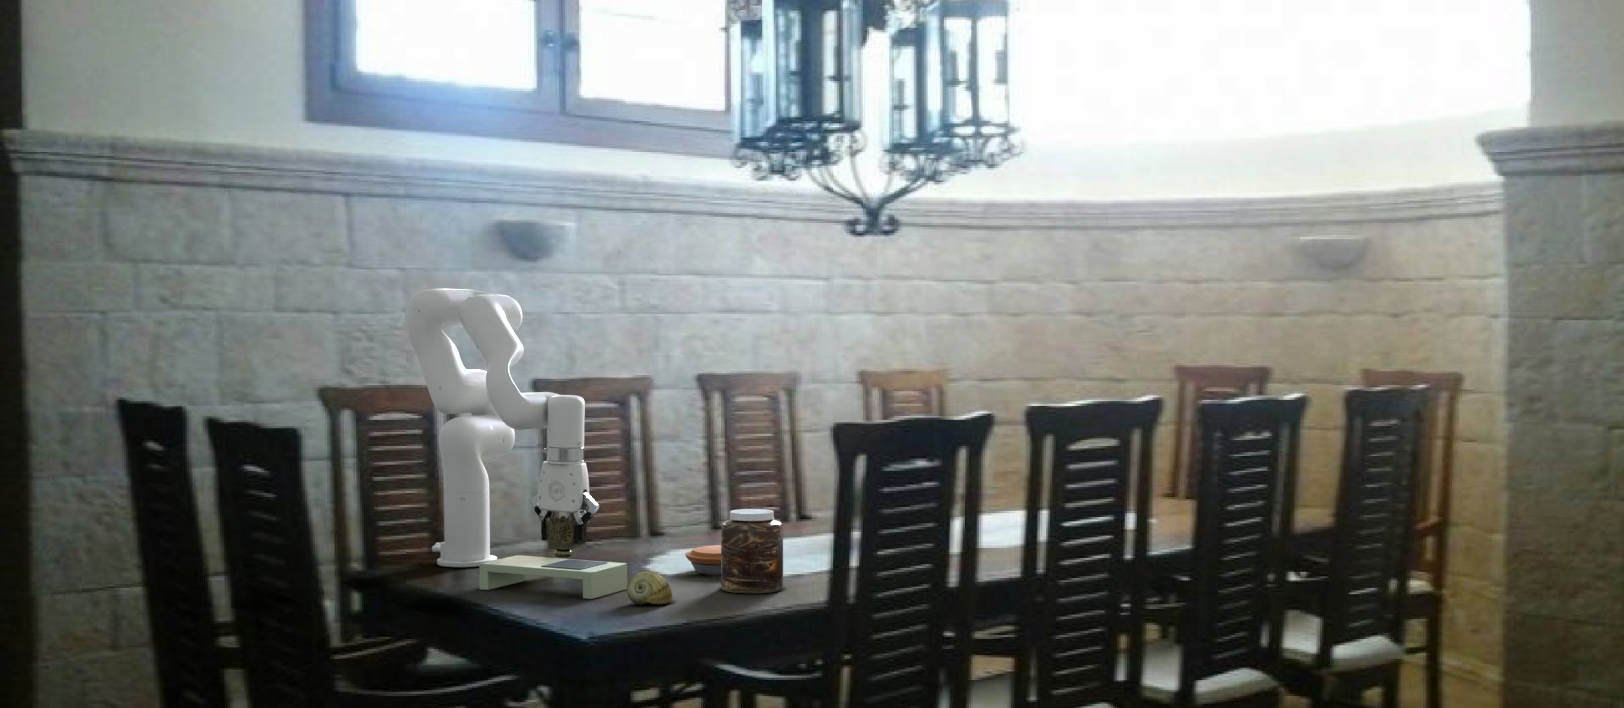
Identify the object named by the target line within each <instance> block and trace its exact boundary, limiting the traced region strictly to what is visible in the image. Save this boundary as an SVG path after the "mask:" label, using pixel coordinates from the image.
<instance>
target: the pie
mask: <svg viewBox="0 0 1624 708" xmlns="http://www.w3.org/2000/svg"><path fill="white" fill-rule="evenodd" d="M684 554H685V558H686V559H687V560H688V561H689V562H690V563H691V565H692V568H693V569H694V571H695V572H696V573H698V574H702V575H709V576H721V544H715V545H704V546H698V547H694V548H693V549H691V550H690V551H688V552H685V553H684Z"/></svg>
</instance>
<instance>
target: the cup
mask: <svg viewBox="0 0 1624 708" xmlns="http://www.w3.org/2000/svg"><path fill="white" fill-rule="evenodd" d="M576 524H577V521H576V519H575V518H574V519H571V517H570V516H569V515H568V516H567V517H566V516H565V515H561V517H558V516H557V515H556V516H555V517H554V518H553V516H552V517H550V519H549V518H546V529H547V538H548V540H547V543H548V545H549V546H550V547H551V548H552V549H553V550H554V551H553V555H554V557H555V558H562V559H569V558H571V557H572V555H573V551H572V550H574V549H576V547H577V546H578V544H575V543H574V527H575V525H576Z"/></svg>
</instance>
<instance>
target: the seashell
mask: <svg viewBox="0 0 1624 708" xmlns="http://www.w3.org/2000/svg"><path fill="white" fill-rule="evenodd" d="M672 591H673V590H672V588H671V585H670V584H669V582H668V581H667V579H665V577H664V576H662V575H660V574H659V573H657V572H655V571H651V570H643V571H639V572H638V573H636V574H634V575H633V576H632V577H630V579H629V580H628V582H627V589H626V594H627V598H628V599H629V600H630V601H631V602H632V603H633V604H634V605H639V606H641V605H647V604H651V605H666V604H672V603H673V592H672Z"/></svg>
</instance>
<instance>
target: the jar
mask: <svg viewBox="0 0 1624 708" xmlns="http://www.w3.org/2000/svg"><path fill="white" fill-rule="evenodd" d="M783 529H784V528H783V524H782V522H781V521H779V520H777V519H775V512H774V510H771V509H763V508H741V509H739V508H738V509H732V510H730V511H729V519H728V520H725V521H723V522H722V524H721V530H720V531H721V532H720V545H721V575H720V583H721V584H720V587H721V590H722V591H723V592H727V593H733V594H750V595H756V594H770V593H776V592H780V591H782V590H783V589H784V532H783V531H784V530H783Z"/></svg>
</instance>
